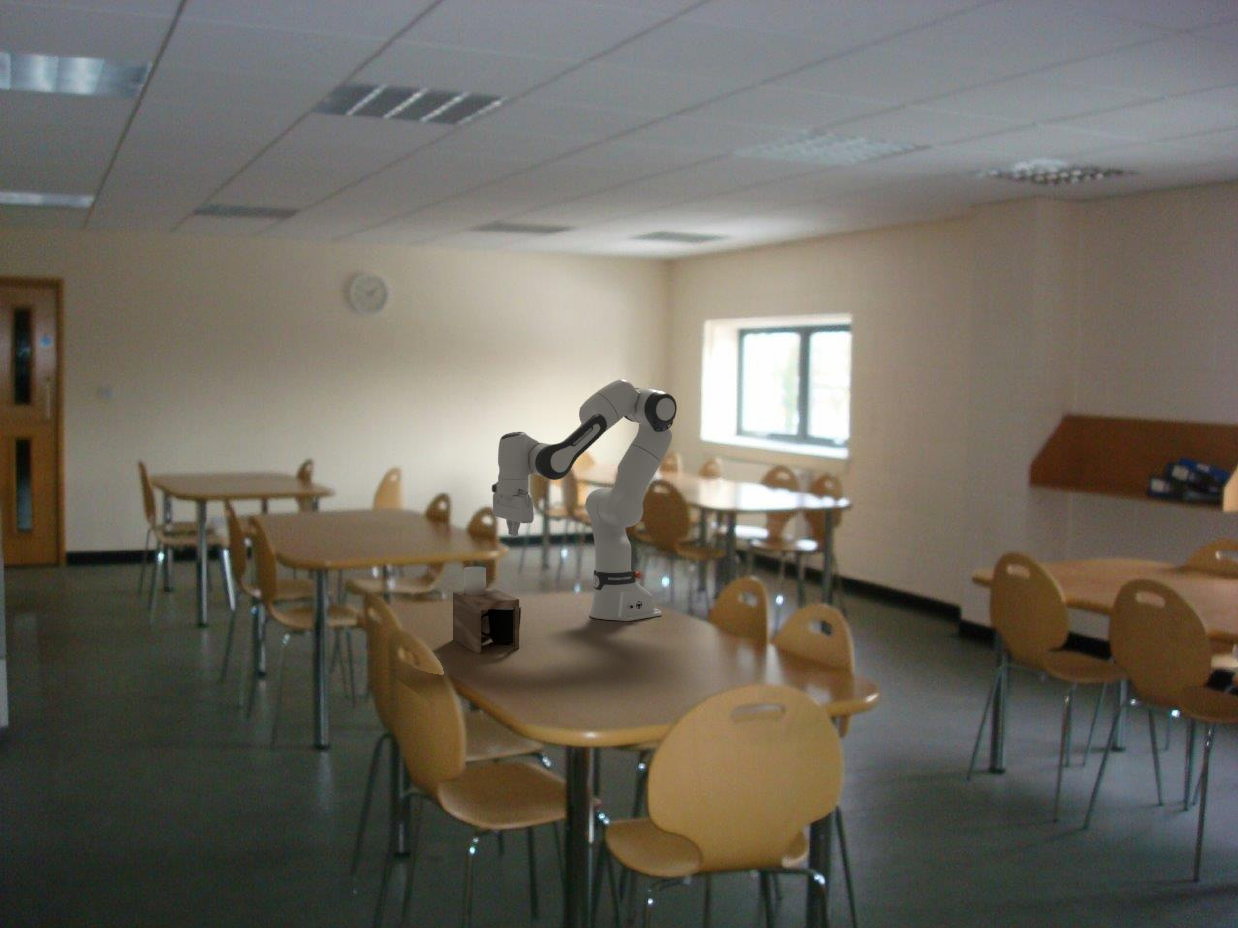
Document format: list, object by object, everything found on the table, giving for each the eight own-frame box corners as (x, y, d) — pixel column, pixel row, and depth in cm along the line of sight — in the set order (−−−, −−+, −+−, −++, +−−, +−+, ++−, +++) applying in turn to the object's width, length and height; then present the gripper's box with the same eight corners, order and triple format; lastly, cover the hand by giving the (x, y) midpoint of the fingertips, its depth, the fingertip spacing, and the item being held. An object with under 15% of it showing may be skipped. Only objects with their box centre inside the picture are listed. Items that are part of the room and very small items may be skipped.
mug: (517, 637, 326) (517, 602, 325) (523, 645, 318) (523, 608, 317) (474, 640, 323) (474, 604, 322) (480, 647, 314) (480, 610, 313)
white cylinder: (480, 590, 324) (481, 565, 324) (489, 594, 319) (489, 569, 318) (460, 592, 321) (460, 567, 321) (468, 596, 316) (468, 570, 315)
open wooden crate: (493, 635, 329) (493, 588, 328) (519, 648, 313) (519, 599, 312) (453, 639, 323) (453, 591, 322) (477, 653, 308) (477, 602, 307)
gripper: (539, 490, 329) (539, 539, 330) (508, 484, 347) (508, 530, 348) (519, 491, 326) (519, 540, 327) (488, 485, 344) (489, 532, 345)
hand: (513, 535), depth 338 cm, fingers closed
